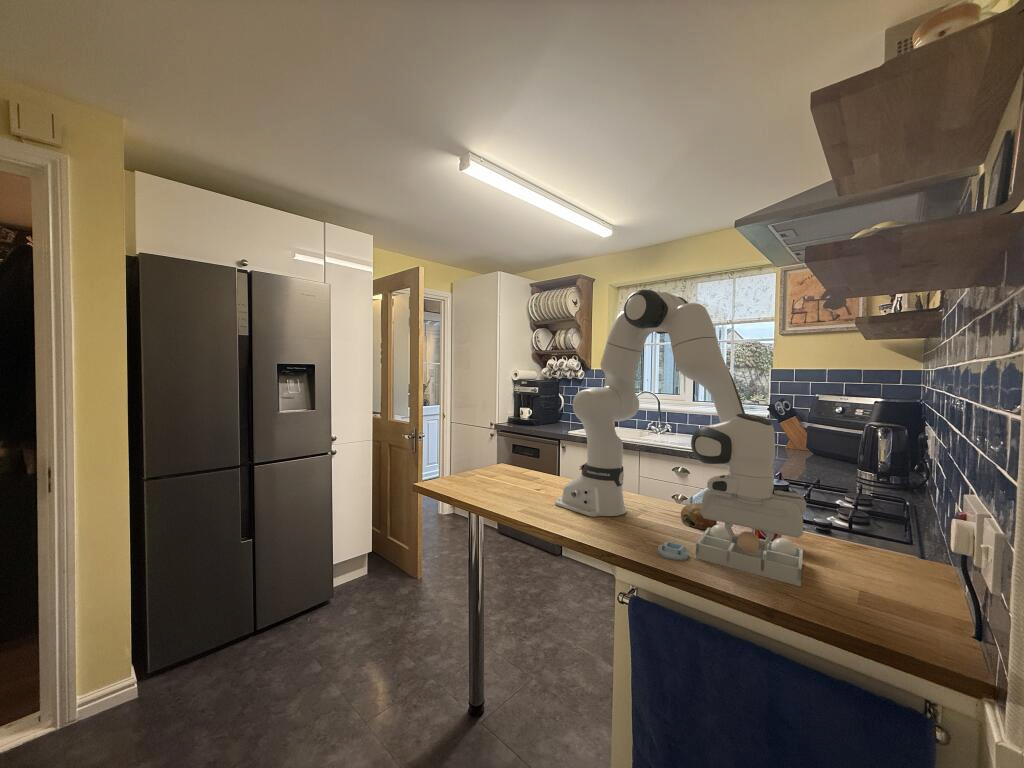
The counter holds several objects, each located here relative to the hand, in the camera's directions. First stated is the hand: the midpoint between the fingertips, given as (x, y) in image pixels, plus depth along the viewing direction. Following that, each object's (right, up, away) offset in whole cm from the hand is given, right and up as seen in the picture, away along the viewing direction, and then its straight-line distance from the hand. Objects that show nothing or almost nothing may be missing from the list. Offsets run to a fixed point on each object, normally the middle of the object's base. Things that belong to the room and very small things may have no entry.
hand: (748, 546), depth 93 cm
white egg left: (-1, -1, +9) cm, 9 cm away
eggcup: (-15, -4, +5) cm, 16 cm away
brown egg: (0, +1, 0) cm, 1 cm away
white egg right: (+9, -1, +1) cm, 9 cm away
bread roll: (+1, -5, +27) cm, 28 cm away
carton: (+2, -5, +3) cm, 6 cm away
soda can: (+14, -5, +16) cm, 22 cm away
